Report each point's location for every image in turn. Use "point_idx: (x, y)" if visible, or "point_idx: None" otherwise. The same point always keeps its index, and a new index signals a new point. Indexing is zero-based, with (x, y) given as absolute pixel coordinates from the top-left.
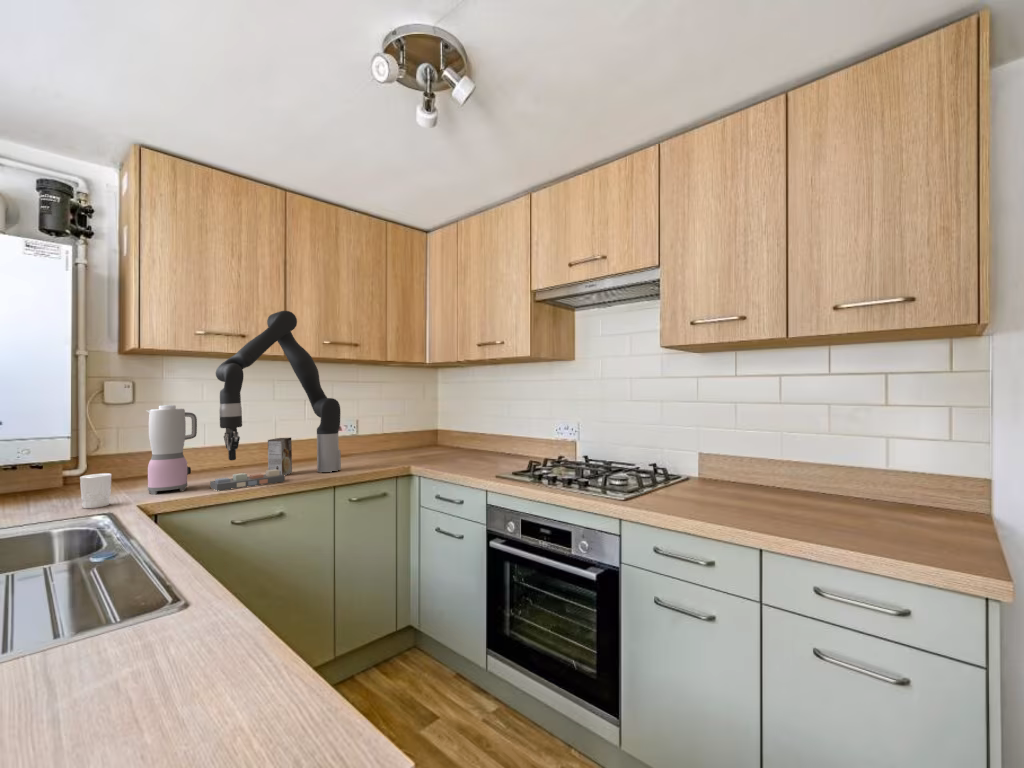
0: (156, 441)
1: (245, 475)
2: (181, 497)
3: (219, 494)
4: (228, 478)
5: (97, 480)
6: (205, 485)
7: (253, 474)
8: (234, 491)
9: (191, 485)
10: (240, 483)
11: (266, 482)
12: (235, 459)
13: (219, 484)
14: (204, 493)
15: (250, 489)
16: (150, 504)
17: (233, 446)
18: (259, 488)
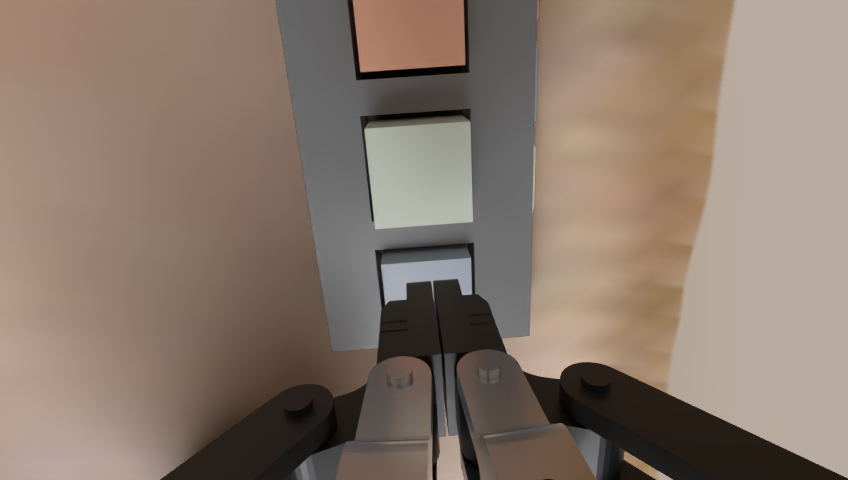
0: None
1: (469, 135)
2: None
3: (648, 316)
4: (448, 264)
5: None
6: (204, 336)
7: (367, 32)
8: (626, 232)
9: (139, 398)
10: (533, 182)
11: None
12: (458, 281)
13: (529, 321)
14: (534, 373)
15: (647, 130)
16: None
17: (621, 461)
18: (667, 65)
